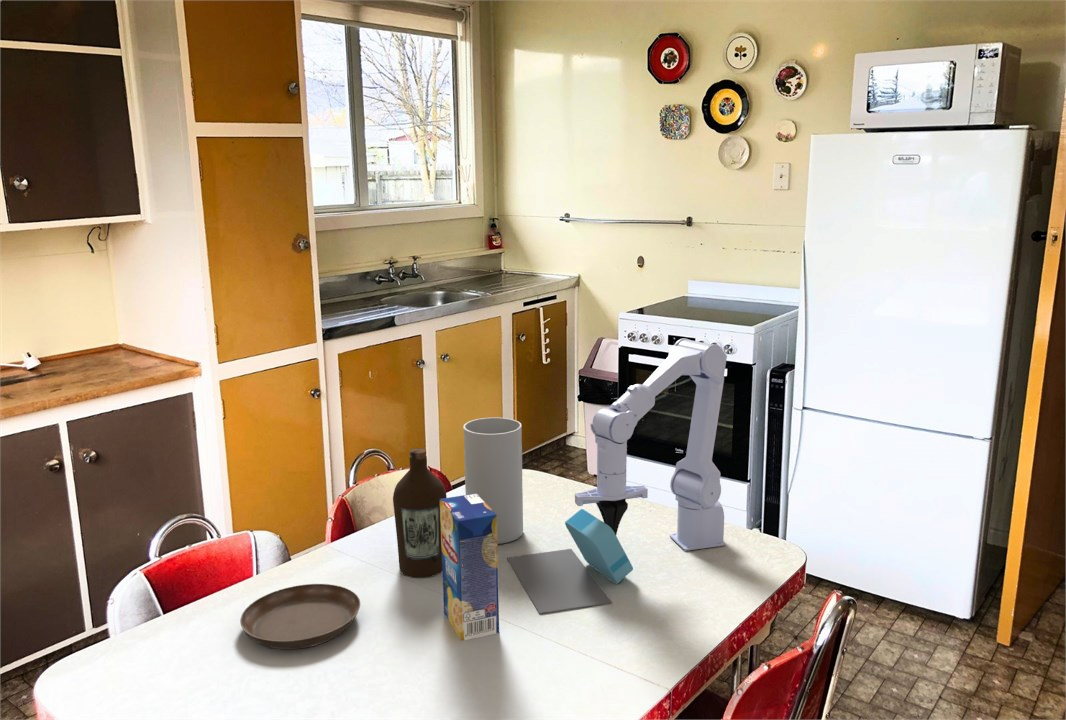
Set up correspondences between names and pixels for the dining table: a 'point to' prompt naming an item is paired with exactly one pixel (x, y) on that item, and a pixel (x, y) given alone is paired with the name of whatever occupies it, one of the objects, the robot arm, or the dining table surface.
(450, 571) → the beverage box
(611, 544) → the data package
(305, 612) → the plant saucer
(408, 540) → the olive oil
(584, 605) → the mat
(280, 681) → the dining table surface
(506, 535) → the cylinder vase
